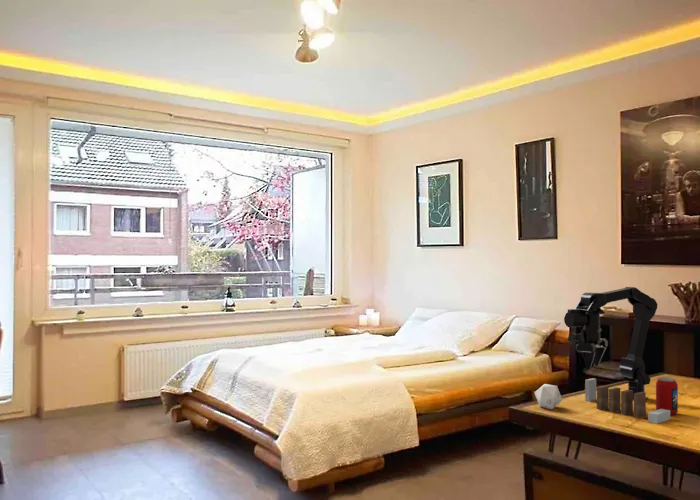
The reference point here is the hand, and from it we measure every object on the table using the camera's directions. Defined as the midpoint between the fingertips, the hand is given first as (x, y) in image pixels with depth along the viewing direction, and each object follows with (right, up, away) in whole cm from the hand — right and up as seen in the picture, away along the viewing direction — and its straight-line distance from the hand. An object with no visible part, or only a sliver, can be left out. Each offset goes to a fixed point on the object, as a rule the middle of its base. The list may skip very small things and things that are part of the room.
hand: (592, 367), depth 230 cm
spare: (0, -13, +3) cm, 13 cm away
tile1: (-1, -13, -11) cm, 17 cm away
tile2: (+2, -13, -14) cm, 19 cm away
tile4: (+8, -13, -21) cm, 26 cm away
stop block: (+12, -13, -27) cm, 32 cm away
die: (-20, -13, -9) cm, 25 cm away
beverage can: (+19, -13, -17) cm, 29 cm away
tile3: (+5, -13, -18) cm, 22 cm away
